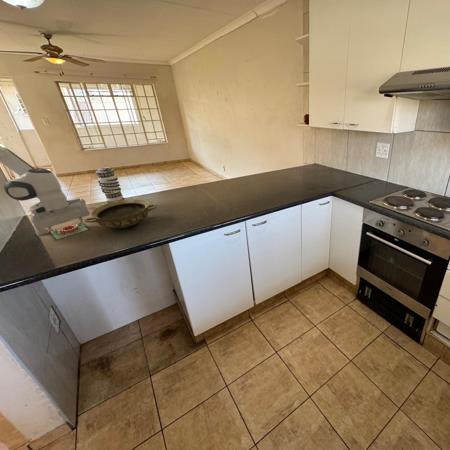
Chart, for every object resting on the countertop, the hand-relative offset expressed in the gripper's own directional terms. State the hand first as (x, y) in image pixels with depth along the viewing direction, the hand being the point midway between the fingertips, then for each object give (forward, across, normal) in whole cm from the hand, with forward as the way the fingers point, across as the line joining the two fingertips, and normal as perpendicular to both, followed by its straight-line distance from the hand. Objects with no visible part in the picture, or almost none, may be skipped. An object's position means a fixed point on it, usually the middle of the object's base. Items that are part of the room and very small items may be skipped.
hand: (68, 229), depth 121 cm
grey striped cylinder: (+1, -25, -9) cm, 27 cm away
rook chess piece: (+1, +8, -7) cm, 11 cm away
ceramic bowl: (+1, -20, +16) cm, 26 cm away
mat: (+1, 0, 0) cm, 1 cm away
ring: (0, 0, 0) cm, 0 cm away
